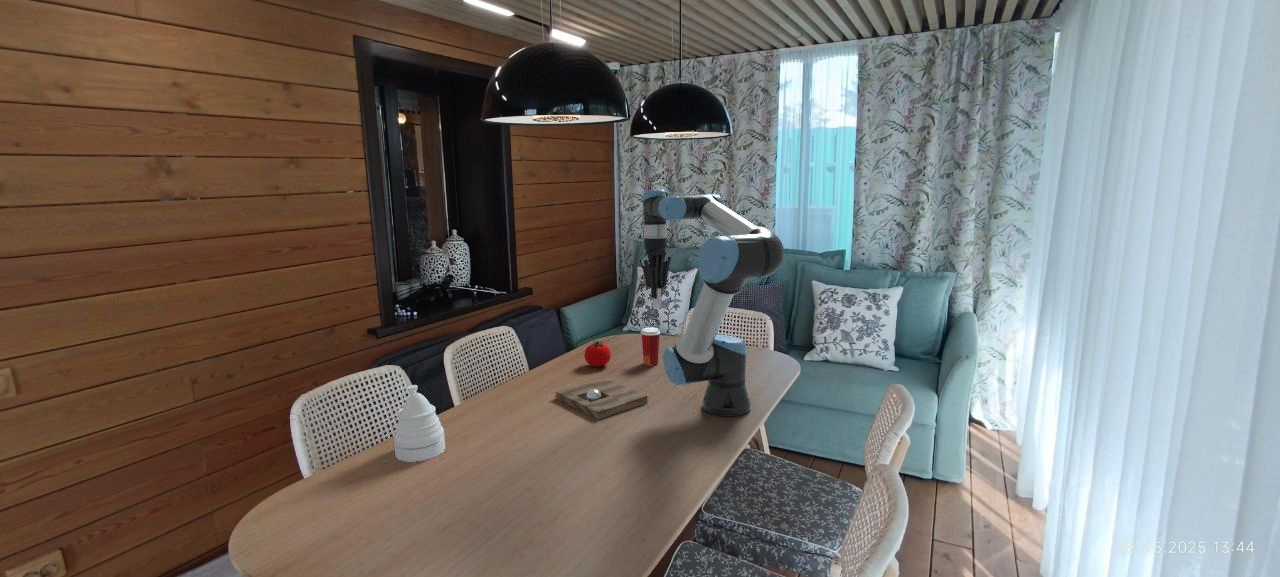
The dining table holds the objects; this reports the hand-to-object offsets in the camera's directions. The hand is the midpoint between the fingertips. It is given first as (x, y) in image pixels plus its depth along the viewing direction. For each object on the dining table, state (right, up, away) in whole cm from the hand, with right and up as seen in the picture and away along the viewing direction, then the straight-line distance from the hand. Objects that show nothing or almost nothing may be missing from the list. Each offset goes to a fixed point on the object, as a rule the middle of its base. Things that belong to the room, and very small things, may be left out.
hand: (657, 307), depth 198 cm
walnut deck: (-19, -31, -3) cm, 36 cm away
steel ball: (-21, -29, -6) cm, 36 cm away
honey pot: (-66, -38, -37) cm, 85 cm away
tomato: (-22, -24, +33) cm, 47 cm away
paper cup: (-1, -24, +35) cm, 42 cm away
